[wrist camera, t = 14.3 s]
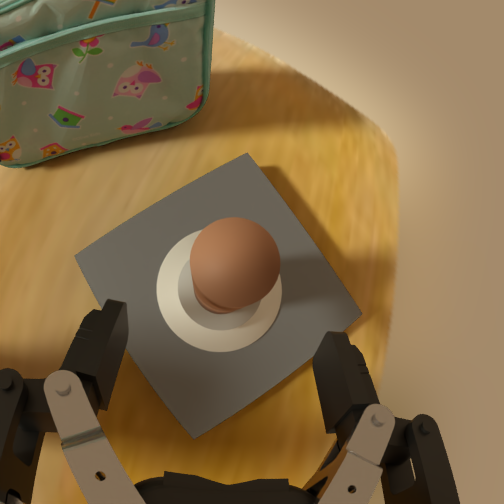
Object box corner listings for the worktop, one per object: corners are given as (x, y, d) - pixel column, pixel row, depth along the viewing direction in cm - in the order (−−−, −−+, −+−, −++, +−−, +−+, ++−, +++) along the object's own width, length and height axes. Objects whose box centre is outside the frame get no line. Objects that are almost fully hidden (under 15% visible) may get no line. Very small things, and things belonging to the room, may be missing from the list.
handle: (163, 277, 23) (136, 239, 13) (230, 235, 25) (253, 170, 15) (209, 346, 23) (217, 363, 12) (275, 300, 24) (331, 280, 14)
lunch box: (-6, 188, 25) (-113, 81, 5) (5, 121, 27) (-63, 10, 6) (211, 132, 31) (239, -56, 10) (196, 70, 33) (212, -84, 12)
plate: (85, 262, 26) (73, 255, 22) (242, 167, 30) (247, 151, 27) (194, 428, 24) (193, 440, 21) (347, 315, 29) (363, 313, 26)
